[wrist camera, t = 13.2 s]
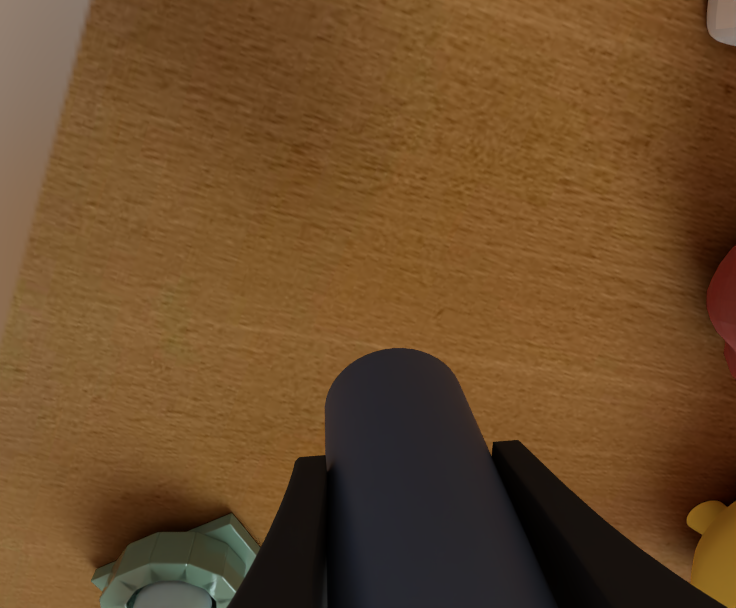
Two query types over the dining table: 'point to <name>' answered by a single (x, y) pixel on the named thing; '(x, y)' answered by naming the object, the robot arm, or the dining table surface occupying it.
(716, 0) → the eye dropper bottle
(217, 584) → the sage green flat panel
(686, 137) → the dining table surface
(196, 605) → the light gray smooth cylinder
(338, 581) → the blue gray cylinder
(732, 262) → the vegetable
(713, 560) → the teapot
